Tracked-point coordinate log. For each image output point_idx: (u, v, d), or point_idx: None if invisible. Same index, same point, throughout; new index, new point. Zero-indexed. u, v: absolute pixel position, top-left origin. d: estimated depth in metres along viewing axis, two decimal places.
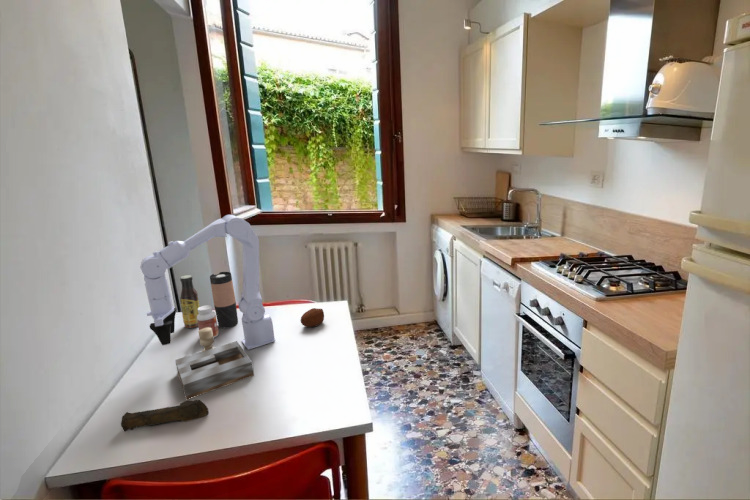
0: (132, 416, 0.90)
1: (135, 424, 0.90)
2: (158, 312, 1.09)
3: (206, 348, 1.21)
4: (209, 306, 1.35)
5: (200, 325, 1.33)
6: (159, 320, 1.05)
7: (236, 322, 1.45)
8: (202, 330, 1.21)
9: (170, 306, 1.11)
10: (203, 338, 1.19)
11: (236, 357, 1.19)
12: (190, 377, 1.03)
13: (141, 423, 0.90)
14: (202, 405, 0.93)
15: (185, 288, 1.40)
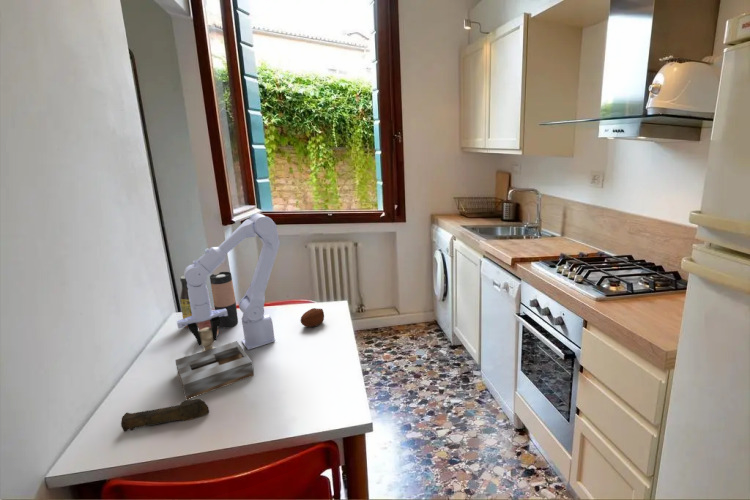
0: (132, 416, 0.90)
1: (135, 424, 0.90)
2: (192, 316, 1.18)
3: (206, 348, 1.21)
4: None
5: (200, 325, 1.33)
6: (177, 323, 1.15)
7: (236, 322, 1.45)
8: (202, 330, 1.21)
9: (199, 315, 1.16)
10: (203, 338, 1.19)
11: (236, 357, 1.19)
12: (190, 377, 1.03)
13: (141, 423, 0.90)
14: (202, 404, 0.93)
15: (185, 288, 1.40)
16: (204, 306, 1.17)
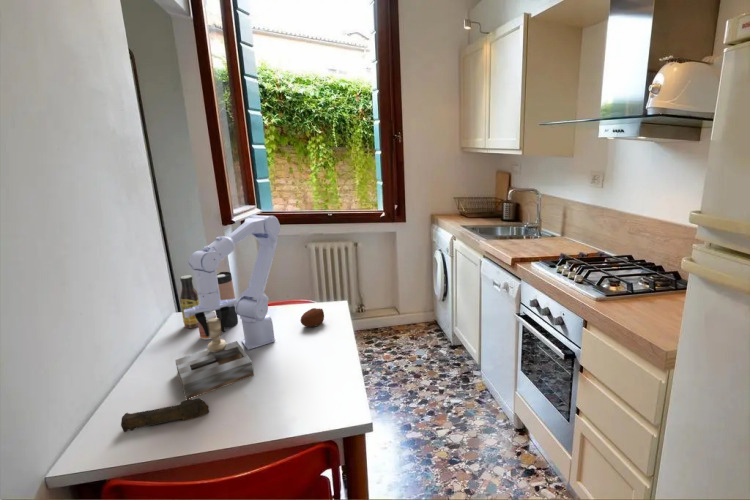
0: (132, 417, 0.90)
1: (135, 424, 0.90)
2: (200, 305, 1.12)
3: (214, 340, 1.14)
4: None
5: (200, 325, 1.33)
6: (184, 312, 1.09)
7: (236, 322, 1.45)
8: (210, 321, 1.14)
9: (207, 304, 1.10)
10: (211, 329, 1.13)
11: (236, 357, 1.19)
12: (190, 377, 1.03)
13: (141, 423, 0.90)
14: (203, 403, 0.94)
15: (185, 288, 1.40)
16: (213, 295, 1.10)
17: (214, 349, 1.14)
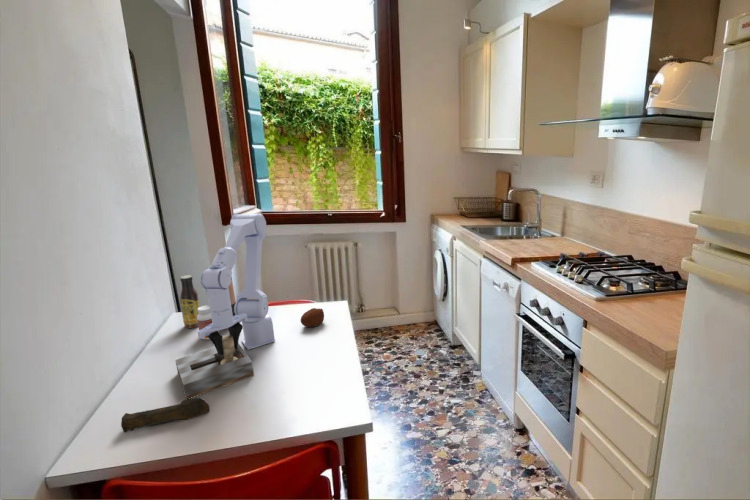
0: (132, 417, 0.90)
1: (135, 424, 0.90)
2: (213, 324, 1.09)
3: (228, 357, 1.12)
4: (209, 306, 1.35)
5: (200, 325, 1.33)
6: (199, 333, 1.05)
7: None
8: (223, 339, 1.11)
9: (223, 322, 1.08)
10: (226, 347, 1.11)
11: None
12: (190, 377, 1.03)
13: (142, 423, 0.90)
14: (203, 403, 0.94)
15: (185, 288, 1.40)
16: (228, 311, 1.08)
17: None
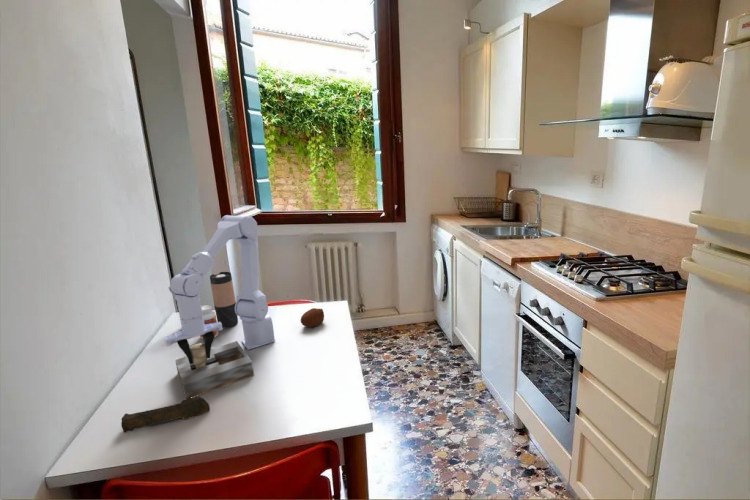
0: (132, 417, 0.90)
1: (136, 424, 0.90)
2: (182, 331, 1.05)
3: (198, 367, 1.08)
4: (209, 306, 1.35)
5: None
6: (165, 340, 1.02)
7: (236, 322, 1.45)
8: (194, 347, 1.07)
9: (190, 331, 1.03)
10: (196, 356, 1.06)
11: (236, 357, 1.19)
12: (190, 377, 1.03)
13: (142, 423, 0.90)
14: (203, 402, 0.94)
15: None
16: (196, 320, 1.04)
17: None
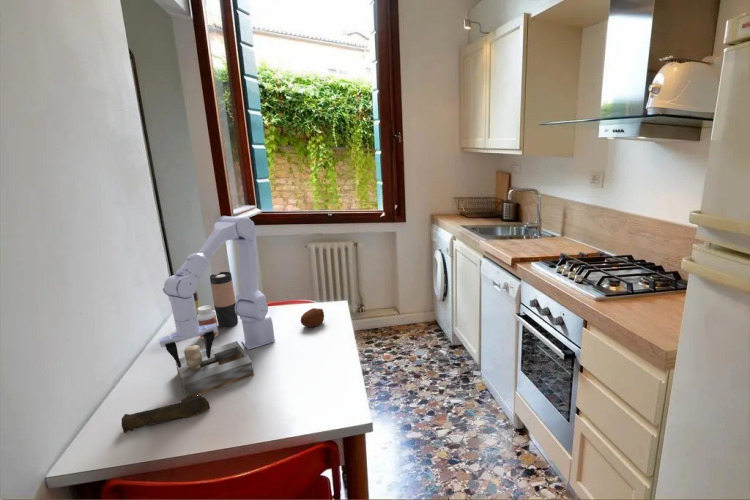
0: (132, 417, 0.90)
1: (136, 424, 0.90)
2: (176, 332, 1.04)
3: (193, 369, 1.07)
4: (209, 306, 1.35)
5: (200, 325, 1.33)
6: None
7: (236, 322, 1.45)
8: (188, 349, 1.07)
9: (184, 332, 1.03)
10: (190, 358, 1.06)
11: (236, 357, 1.19)
12: (190, 377, 1.03)
13: (142, 423, 0.90)
14: (204, 400, 0.95)
15: None
16: (190, 322, 1.03)
17: None
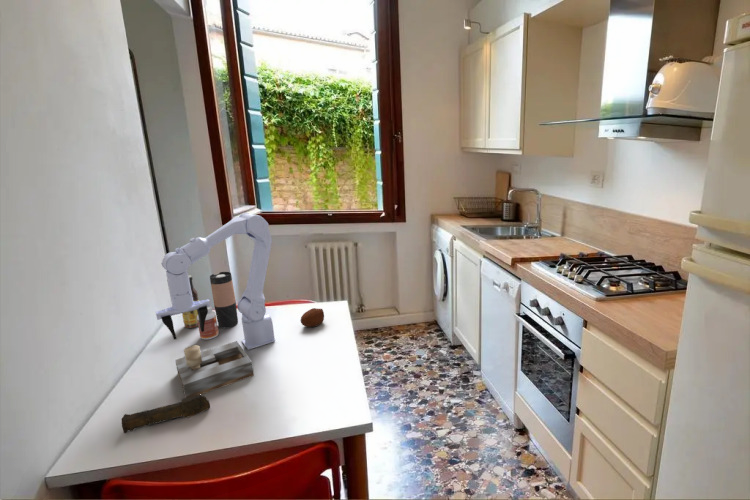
0: (132, 417, 0.90)
1: (136, 424, 0.90)
2: (172, 306, 1.12)
3: (193, 369, 1.07)
4: None
5: None
6: (156, 314, 1.09)
7: (236, 322, 1.45)
8: (188, 349, 1.07)
9: (179, 306, 1.10)
10: (190, 358, 1.06)
11: (236, 357, 1.19)
12: (190, 377, 1.03)
13: (142, 423, 0.90)
14: (204, 399, 0.95)
15: None
16: (185, 296, 1.10)
17: None
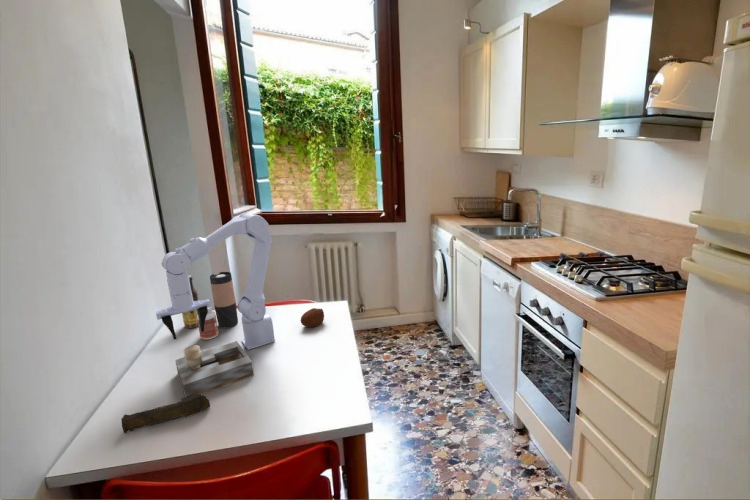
0: (132, 417, 0.90)
1: (136, 424, 0.90)
2: (172, 306, 1.12)
3: (193, 369, 1.07)
4: None
5: None
6: (156, 314, 1.09)
7: (236, 322, 1.45)
8: (189, 349, 1.07)
9: (179, 306, 1.10)
10: (190, 358, 1.06)
11: (236, 357, 1.19)
12: (190, 377, 1.03)
13: (143, 423, 0.90)
14: (204, 399, 0.95)
15: None
16: (185, 296, 1.10)
17: None
